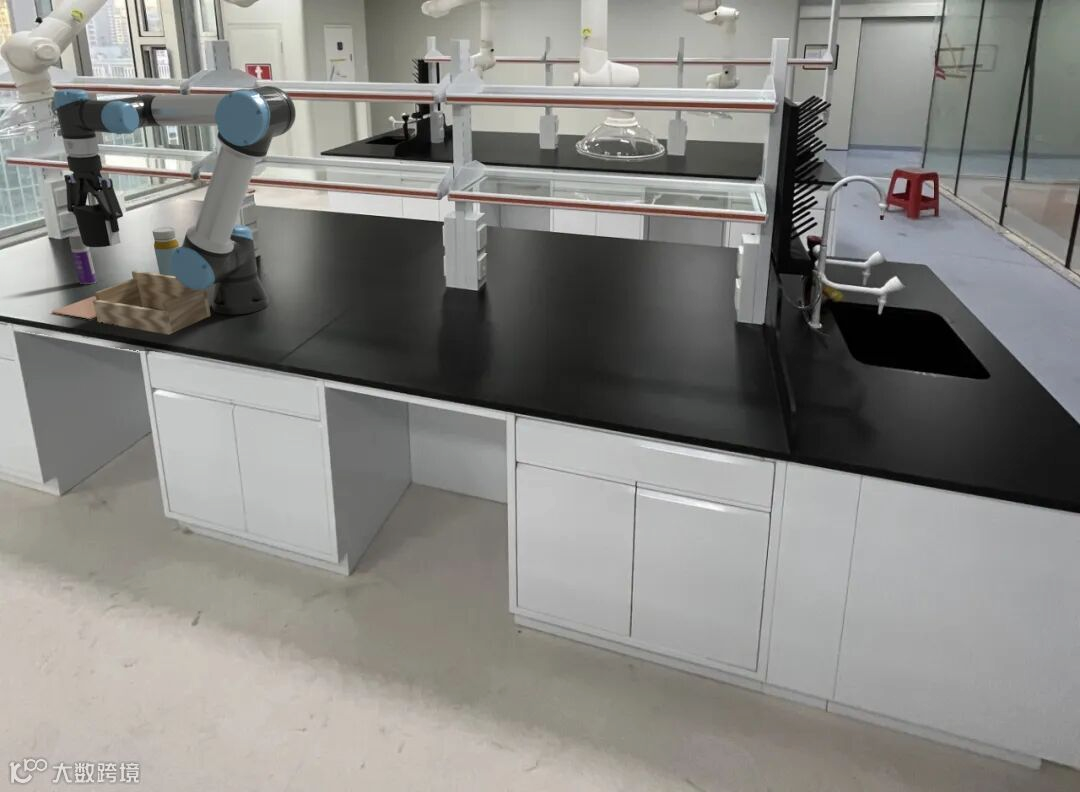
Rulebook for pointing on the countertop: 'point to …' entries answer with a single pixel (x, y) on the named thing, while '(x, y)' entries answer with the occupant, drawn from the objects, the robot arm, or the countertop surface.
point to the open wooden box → (151, 303)
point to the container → (82, 260)
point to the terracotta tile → (79, 309)
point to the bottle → (164, 248)
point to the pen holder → (92, 225)
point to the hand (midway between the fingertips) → (101, 241)
